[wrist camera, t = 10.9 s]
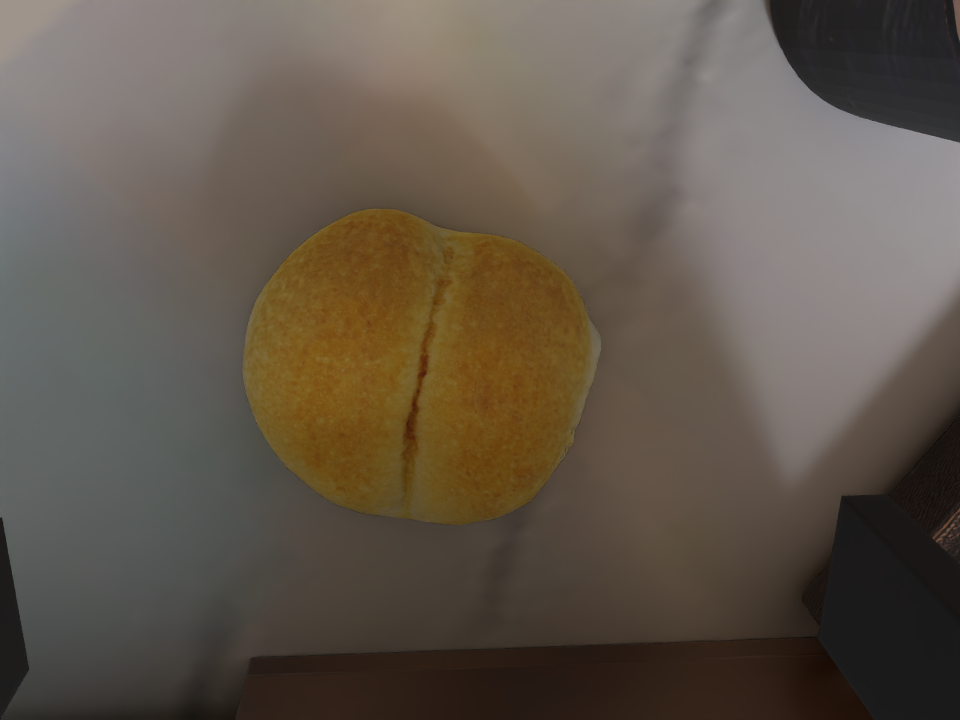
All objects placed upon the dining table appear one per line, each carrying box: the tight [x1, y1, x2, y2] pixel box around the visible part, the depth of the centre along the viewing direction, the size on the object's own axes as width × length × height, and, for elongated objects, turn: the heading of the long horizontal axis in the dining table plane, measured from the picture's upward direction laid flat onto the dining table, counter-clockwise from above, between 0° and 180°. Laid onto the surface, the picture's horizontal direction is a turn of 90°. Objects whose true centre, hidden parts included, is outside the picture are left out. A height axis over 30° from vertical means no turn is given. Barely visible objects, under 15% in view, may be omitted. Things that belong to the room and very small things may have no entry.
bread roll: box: [242, 209, 601, 525], centre depth 23 cm, size 8×9×4 cm
